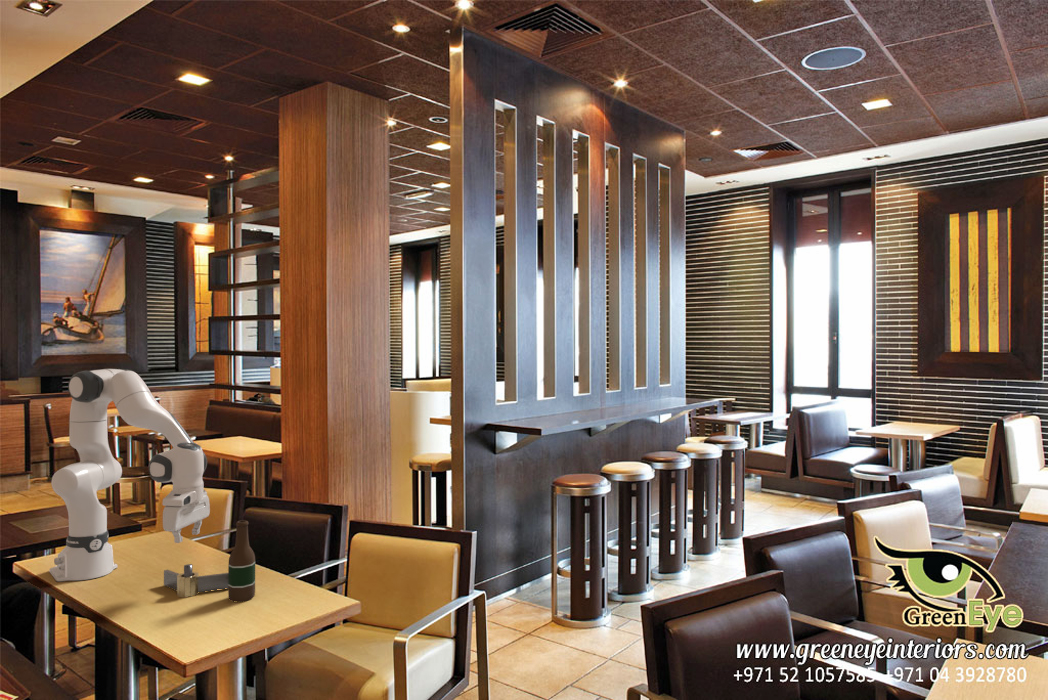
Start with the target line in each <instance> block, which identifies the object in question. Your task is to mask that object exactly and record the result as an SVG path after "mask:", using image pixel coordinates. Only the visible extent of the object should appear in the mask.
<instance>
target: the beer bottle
mask: <svg viewBox="0 0 1048 700" xmlns="http://www.w3.org/2000/svg"><path fill="white" fill-rule="evenodd" d="M249 524H250V523H249V521H248V520H245V519H244V520H242V519H241V520H238V521H237V522H236V523H235V526H236V531H235V544H234V548H233V550H232V551H231V553H230V555H229V557H228V566H227V567H228V569H227V570H228V572H227V573H228V589H227V590H228V592H227V593H228V596H227V597H228V600H229V599H230V600H229V601H231V602H232V603H235V602H234V601H237V602H236V603H243V601H244V602H247V601H251V600H252V599H253V598H254V597H256V596H255V595H256V555H255V552H254V550H253V549H252V547H251V546H250V541H249V526H248V525H249Z"/></svg>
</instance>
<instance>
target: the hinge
mask: <svg viewBox="0 0 1048 700" xmlns="http://www.w3.org/2000/svg"><path fill="white" fill-rule="evenodd" d="M164 585H165V586H164ZM163 586H164V587H166V586H168V587H170V588H169V589H171V588H173V589H175V590H174V591H176V590H177V591H176V597H179V598H189V597H188V596H191V597H193V596H192V595H194V596H196V595H198V594H199V593H198V592H203V593H206V592H205V591H211V590H217V589H225V588H228V572H222V573H216V574H215V573H214V574H206V575H205V574H204V575H199V572H196V571H192V576H190V577H184V572H183V573H178V572H175V571H173V570H170V569H164V570H163ZM168 587H167V588H168ZM173 589H172V590H173ZM211 592H212V591H211ZM197 593H198V594H197Z"/></svg>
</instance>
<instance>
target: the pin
mask: <svg viewBox="0 0 1048 700" xmlns="http://www.w3.org/2000/svg"><path fill="white" fill-rule="evenodd" d="M192 572H193V564H191V563H188V564H184V565H183V573H184V577H190V576H192Z"/></svg>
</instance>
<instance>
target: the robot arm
mask: <svg viewBox="0 0 1048 700" xmlns="http://www.w3.org/2000/svg"><path fill="white" fill-rule="evenodd" d="M67 389H68V393H69V395H70V397H71V398H72V400H71V404H70V411H69V433H68V435H69V436H68V437H69V438H68V439H69V445H70V446H71V447H72V448H73V449H74V450H75V449H76V451H77V453H78V457H79V460H80V462H76V463H71V464H68V465H66V466H63V467H61V468H60V469H58V470H57V471H55V472H54V474H53V475H52V477H51V487H52V488H51V489H52V490H53V491H54V493H55V494H56V495H58V497H60V498H61V499H62V500H63V502H64V503H65V506H66V510H67V513H68V514H67V515H68V534H67V538H66V541H65V542H66V543H65V545H66V546H65V547H64V548H63V549H62V550H61V551H60V552H59V553H58V554H57V557H55V558H54V559H53V561H54V565H55V566H53V567H51V568H49V570H48V572H49V573H50V574H51V575H50V576H52V577H53V578H54V580H55V581H56V582H67V581H84V580H85V581H86V580H92V579H95V578H96V579H97V578H100V577H103V576H106V575H109V574H110V573H112V571H114V569H118V564H117V563H115V562H114V551H113V545H112V544H111V543H109V535H110V534H109V530H108V528H107V527H108V526H107V525H108V510H107V507H106V506H105V505H104V504H102V503H101V502H100V501H99V499H98V495H97V492H98V491H100V490H104V489H108V488H109V487H111V486H112V485H114V484H116V483H117V482H118V481H119V480H120V479H121V477H122V475H123V469H122V464H121V463H120V462H119V461H118V460H117V459H116V458H114V456H113V454H112V452H111V448H110V444H109V439H108V438H109V436H108V406H109V404H110V403H112V402H113V403H114V405H115V409H116V410H117V412H118V414H119V416H120V417H121V419H122V420H123V421H124V422H125V423H126V424H127V425H129V426H131V427H135V428H140V429H145V430H150V431H154V432H158V433H159V434H161V435H162V436H164V437H165V438H166V439H167V441H168V442H169V443H170V445H171V446H172V447H173V448H171V449H169V450H166V451H163V452H160V453H157V454H155V455H153V456H152V457H151V459H150V460H149V463H148V473H149V476H150V478H151V479H152V480H153V481H155V483H162V484H163V483H170V482H172V490H171V491H170V492H169V493H168V494H167V495H166V496H165V497H163V499H162V506H164V508H163V511H162V528H163V530H164V531H165V532H171V534H172V536H173V537H174V538H173V539H174V543H175V544H180V543H182V542H183V536H182V535H181V532H182V529H183V528H186V527H188V526H190V525H193V528H192V529H191V534H192V535H193V536H194V535H195V536H196V535H199V534H200V532H201V530H200V529H201V526H202V523H203V520H204V519H206V518H207V517H208V518H209V516H210V512H211V508H210V507H211V505H210V498H209V496H208V492H207V491H206V489H204V483H205V482H204V480H203V475H204V473H205V471H206V469H207V466H208V458H207V455H206V454H205V452H204V451H203V448H202V446H201V445H199V443H195V442H194V441H193V439H192V438H191V437H190V435H189V434H188V433H187V432H186V429H184V427H183V426H182V424H181V423H180V422H179V421H178V420H177V418H176V417H175V415H173V414H172V413H171V412H170V411H169V410H167V409H166V408H164V407H163V406H162V405H161V404H160V403H159V402H158V401H157V400H156V399H155V397H154V395H153V394H152V392H151V390H150V389H149V387H148V386H147V384H146V383H145V381H144V380H143V379H142V377H141V376H140V375H139V374H138V373H136V372H135V371H133V370H131V369H128V368H126V369H125V368H121V369H120V368H118V369H117V368H103V369H93V370H81V371H78V372H75V373H73V375H72V376H71V377H70V379H69V381H68V385H67Z"/></svg>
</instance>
